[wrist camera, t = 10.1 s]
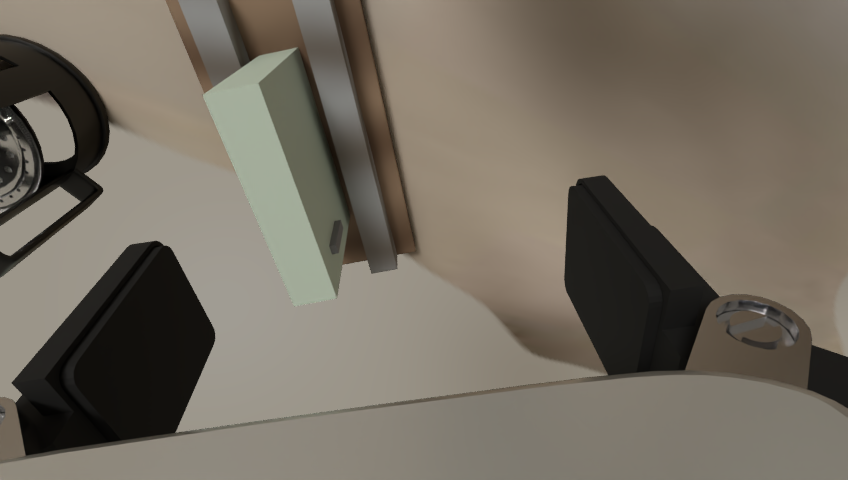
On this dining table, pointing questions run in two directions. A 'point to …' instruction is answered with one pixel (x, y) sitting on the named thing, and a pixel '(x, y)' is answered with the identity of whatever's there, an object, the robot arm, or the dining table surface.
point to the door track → (317, 99)
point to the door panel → (285, 170)
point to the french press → (19, 147)
